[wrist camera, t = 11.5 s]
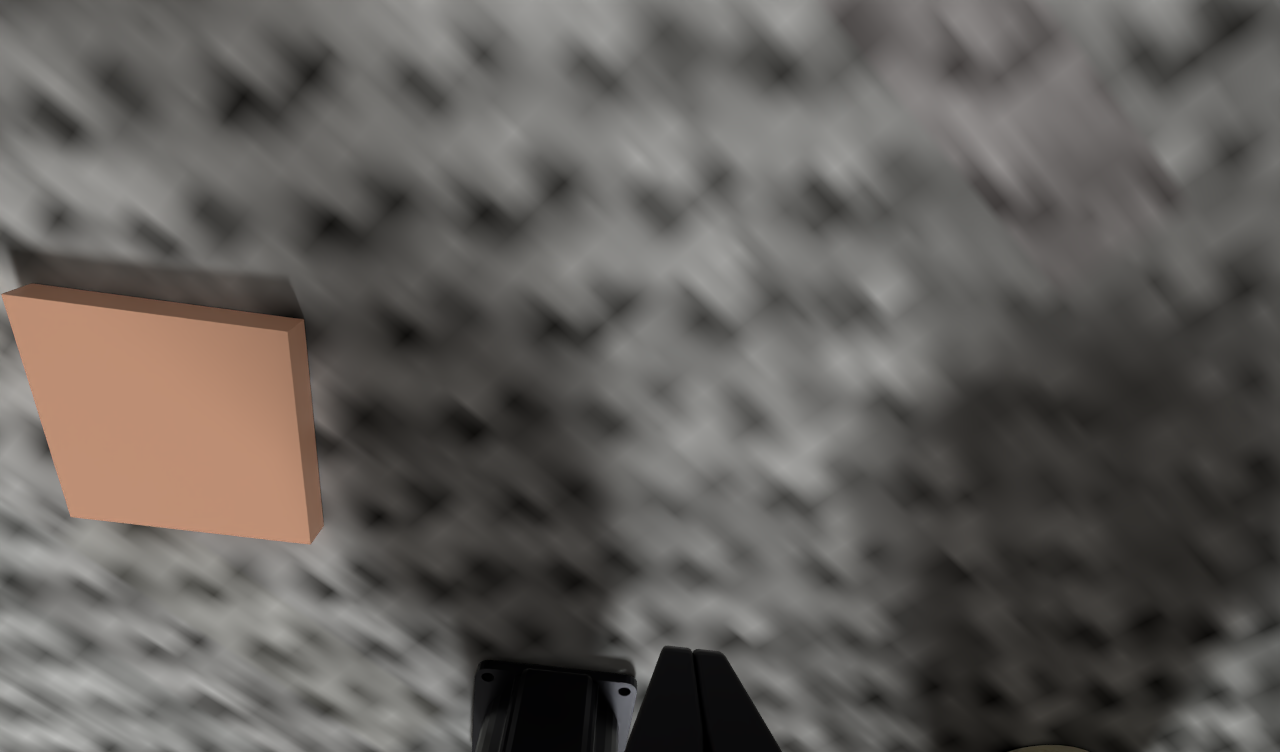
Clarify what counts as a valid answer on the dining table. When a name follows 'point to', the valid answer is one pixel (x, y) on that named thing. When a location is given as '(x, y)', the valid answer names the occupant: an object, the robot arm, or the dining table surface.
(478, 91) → the dining table surface
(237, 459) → the tile
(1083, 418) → the dining table surface
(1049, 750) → the plant pot
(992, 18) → the dining table surface
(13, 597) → the dining table surface
